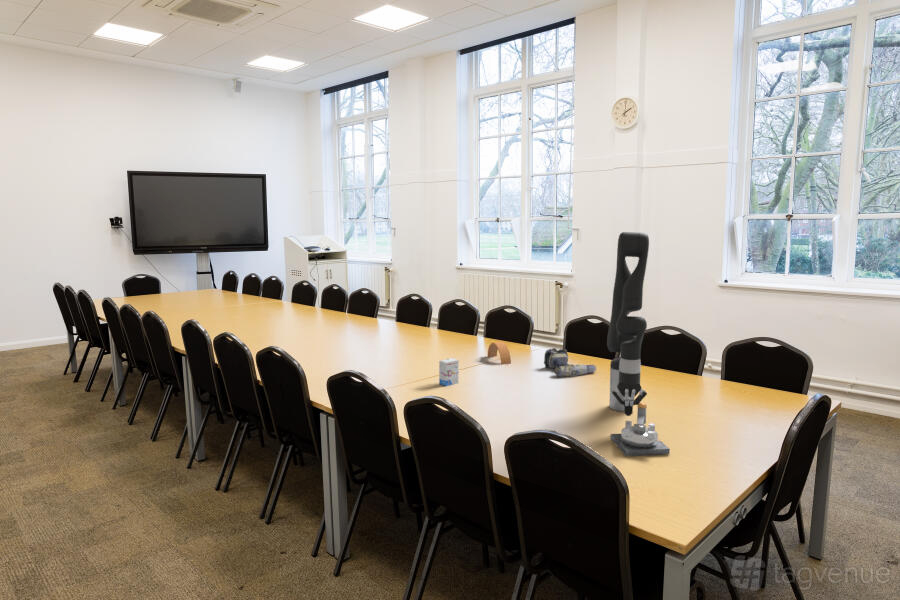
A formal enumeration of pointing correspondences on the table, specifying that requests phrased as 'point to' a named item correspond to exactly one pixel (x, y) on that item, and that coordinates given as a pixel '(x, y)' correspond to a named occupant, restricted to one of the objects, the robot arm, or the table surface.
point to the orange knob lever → (639, 430)
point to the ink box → (448, 371)
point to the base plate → (639, 448)
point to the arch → (502, 350)
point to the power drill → (565, 364)
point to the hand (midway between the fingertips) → (628, 415)
